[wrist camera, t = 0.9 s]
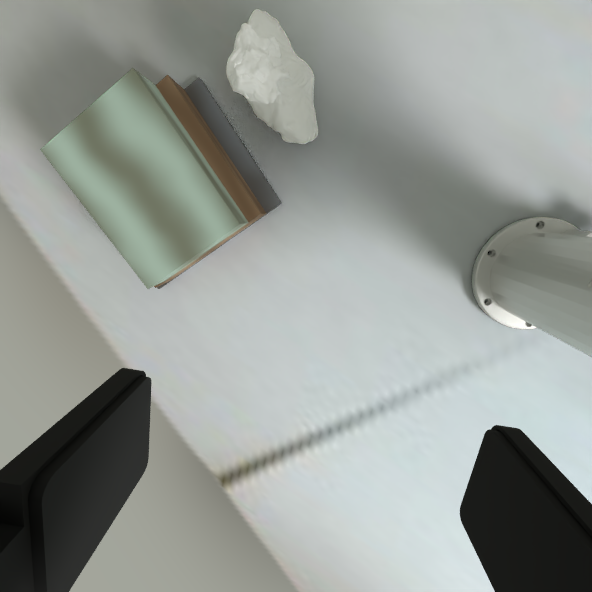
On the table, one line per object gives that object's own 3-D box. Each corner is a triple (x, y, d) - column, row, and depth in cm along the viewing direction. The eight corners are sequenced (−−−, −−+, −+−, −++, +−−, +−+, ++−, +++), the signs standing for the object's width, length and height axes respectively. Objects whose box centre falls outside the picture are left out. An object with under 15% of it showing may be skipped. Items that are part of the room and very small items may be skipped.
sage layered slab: (201, 80, 35) (165, 39, 27) (281, 203, 38) (271, 201, 30) (80, 181, 39) (13, 173, 30) (161, 287, 41) (121, 307, 33)
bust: (260, 46, 36) (169, 35, 29) (311, -9, 31) (216, -39, 23) (302, 156, 39) (229, 173, 31) (357, 123, 33) (284, 134, 26)
